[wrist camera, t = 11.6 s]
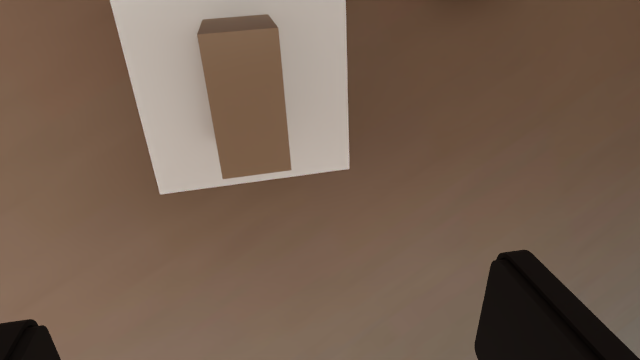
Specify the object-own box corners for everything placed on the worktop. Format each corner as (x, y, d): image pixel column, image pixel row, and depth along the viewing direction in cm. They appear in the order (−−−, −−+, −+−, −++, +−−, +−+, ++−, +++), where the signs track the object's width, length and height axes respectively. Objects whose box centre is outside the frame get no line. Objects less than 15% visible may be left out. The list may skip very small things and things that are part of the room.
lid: (339, -54, 27) (374, -58, 21) (345, 162, 34) (373, 208, 28) (104, -41, 25) (64, -40, 19) (162, 186, 32) (146, 242, 26)
